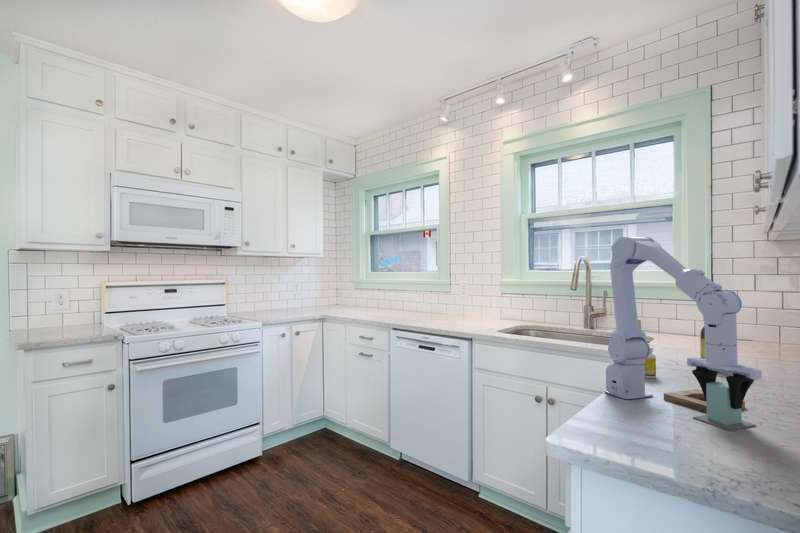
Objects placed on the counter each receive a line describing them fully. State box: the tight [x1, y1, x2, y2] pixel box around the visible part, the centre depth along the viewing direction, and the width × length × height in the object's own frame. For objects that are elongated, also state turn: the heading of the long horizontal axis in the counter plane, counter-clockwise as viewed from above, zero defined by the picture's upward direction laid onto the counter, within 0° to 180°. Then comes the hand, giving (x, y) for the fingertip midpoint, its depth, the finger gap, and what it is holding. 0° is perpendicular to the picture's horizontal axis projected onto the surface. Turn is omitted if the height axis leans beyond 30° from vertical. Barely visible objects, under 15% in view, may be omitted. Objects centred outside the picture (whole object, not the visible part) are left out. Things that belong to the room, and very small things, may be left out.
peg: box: [706, 380, 743, 425], centre depth 90 cm, size 4×4×8 cm
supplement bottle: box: [644, 345, 657, 379], centre depth 132 cm, size 5×5×10 cm
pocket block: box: [663, 388, 746, 413], centre depth 104 cm, size 12×12×2 cm
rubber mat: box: [692, 414, 757, 431], centre depth 90 cm, size 8×8×1 cm
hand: (722, 404), depth 91 cm, fingers open, 5 cm apart
